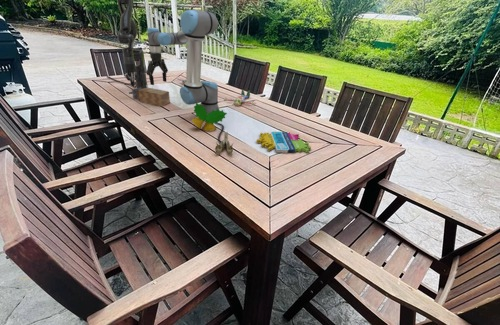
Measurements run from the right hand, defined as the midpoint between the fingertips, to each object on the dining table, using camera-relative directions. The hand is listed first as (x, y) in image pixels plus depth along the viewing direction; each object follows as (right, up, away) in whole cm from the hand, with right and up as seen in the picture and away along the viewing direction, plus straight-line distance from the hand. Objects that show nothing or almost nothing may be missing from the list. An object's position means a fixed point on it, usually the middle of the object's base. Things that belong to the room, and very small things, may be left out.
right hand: (158, 83), depth 195 cm
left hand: (-24, +1, +11) cm, 27 cm away
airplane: (+12, +16, +62) cm, 65 cm away
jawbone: (+55, -53, -56) cm, 95 cm away
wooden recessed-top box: (-6, -12, +9) cm, 17 cm away
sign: (+87, -48, -42) cm, 108 cm away
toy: (+61, -8, +26) cm, 67 cm away
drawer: (-16, -9, +13) cm, 22 cm away
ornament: (+43, -38, -30) cm, 64 cm away
